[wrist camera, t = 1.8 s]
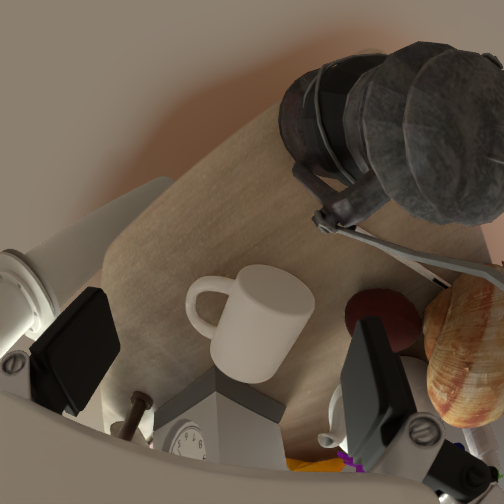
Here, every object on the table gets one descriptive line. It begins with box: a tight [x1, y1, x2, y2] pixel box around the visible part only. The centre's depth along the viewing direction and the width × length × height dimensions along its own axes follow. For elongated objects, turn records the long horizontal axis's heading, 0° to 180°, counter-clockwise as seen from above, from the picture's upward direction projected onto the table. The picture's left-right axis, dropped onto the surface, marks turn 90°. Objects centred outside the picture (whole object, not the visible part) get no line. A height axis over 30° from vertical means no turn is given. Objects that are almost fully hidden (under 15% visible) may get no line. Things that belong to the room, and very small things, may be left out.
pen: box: [346, 225, 451, 290], centre depth 29 cm, size 1×19×1 cm, turn 64°
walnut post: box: [117, 391, 153, 442], centre depth 40 cm, size 4×4×11 cm
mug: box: [185, 265, 315, 383], centre depth 30 cm, size 12×10×8 cm
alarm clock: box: [153, 366, 288, 471], centre depth 35 cm, size 20×16×20 cm
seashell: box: [422, 261, 504, 428], centre depth 24 cm, size 21×20×15 cm
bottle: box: [462, 423, 503, 479], centre depth 28 cm, size 4×4×20 cm
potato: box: [345, 288, 422, 352], centre depth 29 cm, size 7×10×6 cm
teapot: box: [318, 356, 446, 453], centre depth 32 cm, size 19×18×14 cm
